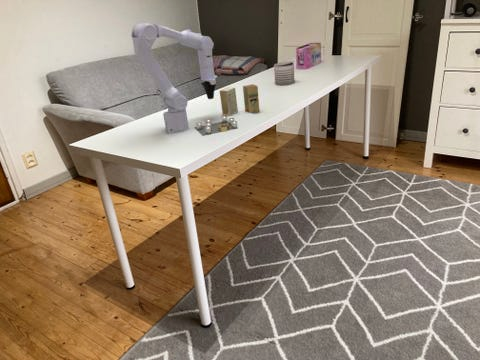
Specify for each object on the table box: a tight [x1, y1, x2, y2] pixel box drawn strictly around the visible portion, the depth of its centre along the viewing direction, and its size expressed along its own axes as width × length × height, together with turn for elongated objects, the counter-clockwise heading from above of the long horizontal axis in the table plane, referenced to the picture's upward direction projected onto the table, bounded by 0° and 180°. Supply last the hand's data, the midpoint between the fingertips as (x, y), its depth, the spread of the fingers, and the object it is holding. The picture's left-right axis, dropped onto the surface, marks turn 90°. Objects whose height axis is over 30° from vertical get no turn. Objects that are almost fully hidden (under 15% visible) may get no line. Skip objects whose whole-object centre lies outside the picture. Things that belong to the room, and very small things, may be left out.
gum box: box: [295, 42, 322, 70], centre depth 265 cm, size 24×8×14 cm, turn 145°
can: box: [273, 60, 296, 87], centre depth 223 cm, size 11×11×12 cm
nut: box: [218, 124, 230, 133], centre depth 157 cm, size 4×5×2 cm
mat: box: [193, 119, 239, 137], centre depth 161 cm, size 15×13×1 cm
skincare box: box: [219, 86, 239, 117], centre depth 175 cm, size 6×4×12 cm
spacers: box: [195, 115, 239, 135], centre depth 160 cm, size 15×12×2 cm
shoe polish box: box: [242, 84, 260, 115], centre depth 177 cm, size 5×5×12 cm
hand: (210, 98), depth 169 cm, fingers closed
